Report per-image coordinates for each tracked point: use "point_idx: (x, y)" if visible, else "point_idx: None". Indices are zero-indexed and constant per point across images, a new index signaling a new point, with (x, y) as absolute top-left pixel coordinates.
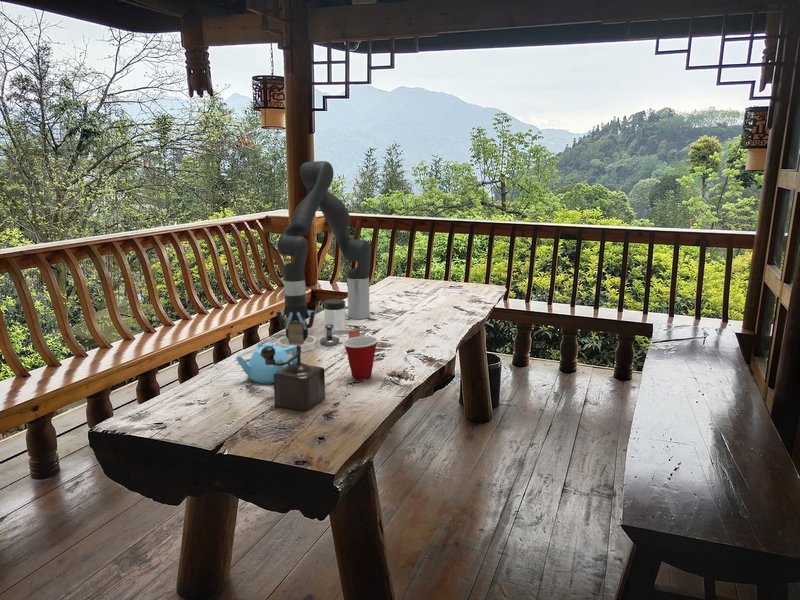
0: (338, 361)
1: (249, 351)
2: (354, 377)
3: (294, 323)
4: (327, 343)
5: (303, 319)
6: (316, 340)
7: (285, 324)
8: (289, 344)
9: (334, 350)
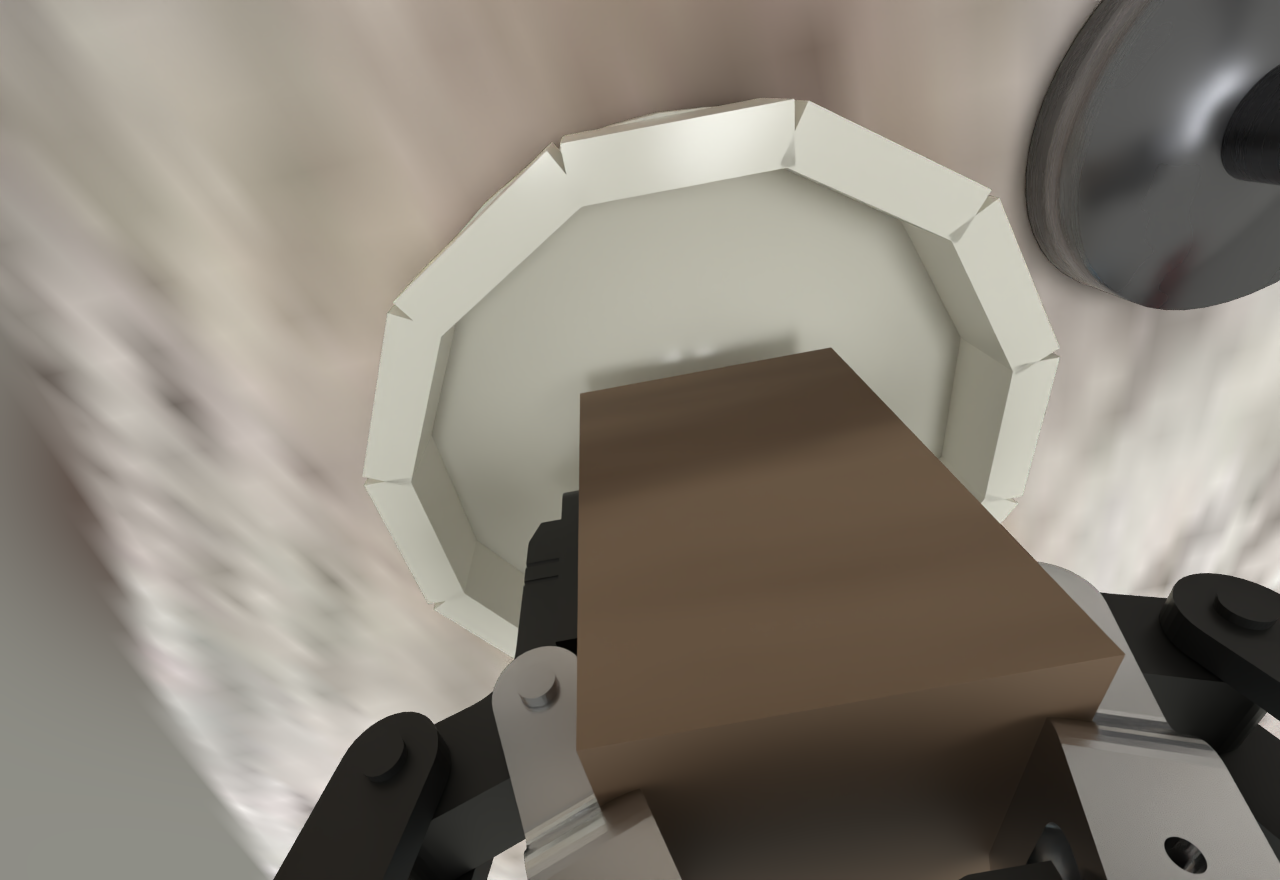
0: None
1: (213, 669)
2: None
3: (796, 871)
4: (1176, 302)
5: (1142, 843)
6: (1040, 407)
7: (502, 821)
8: (575, 444)
9: (1197, 430)
